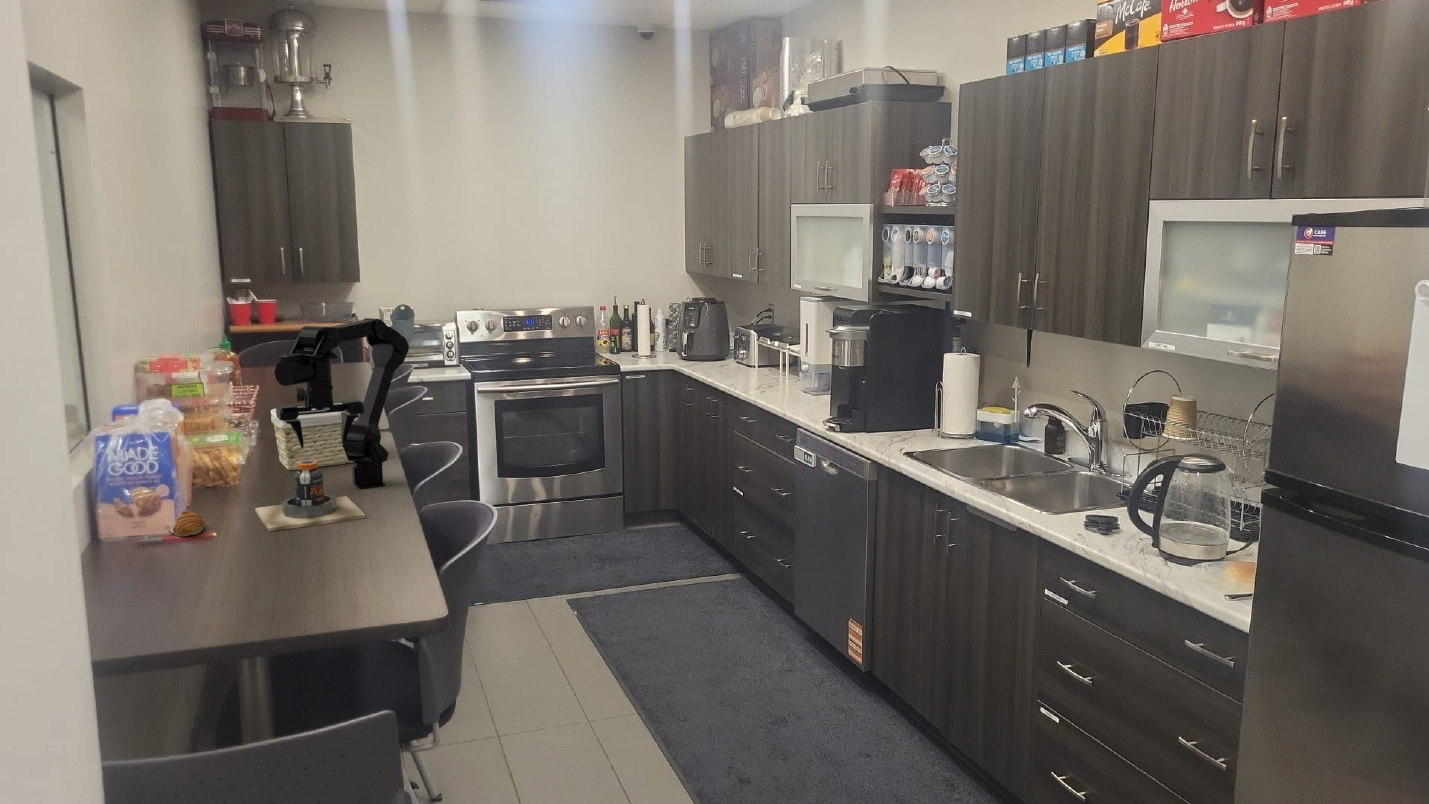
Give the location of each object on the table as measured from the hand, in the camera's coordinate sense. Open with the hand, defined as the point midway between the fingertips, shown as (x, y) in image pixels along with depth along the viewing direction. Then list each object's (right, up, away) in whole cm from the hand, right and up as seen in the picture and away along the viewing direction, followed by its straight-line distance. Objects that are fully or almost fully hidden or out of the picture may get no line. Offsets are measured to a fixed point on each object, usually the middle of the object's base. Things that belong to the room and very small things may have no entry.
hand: (322, 445), depth 245 cm
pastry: (-20, -18, -23) cm, 35 cm away
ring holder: (+1, -15, -11) cm, 19 cm away
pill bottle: (+1, -15, -11) cm, 18 cm away
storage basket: (-15, -6, +40) cm, 43 cm away
